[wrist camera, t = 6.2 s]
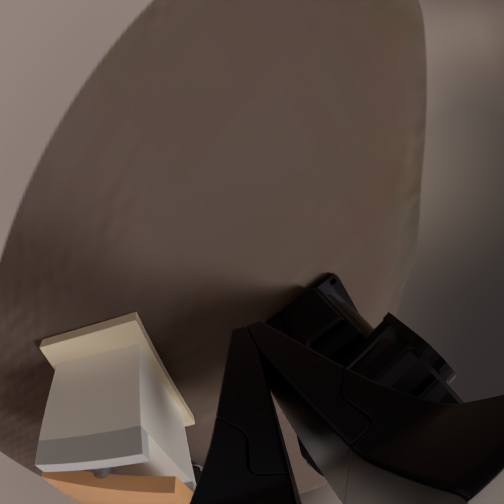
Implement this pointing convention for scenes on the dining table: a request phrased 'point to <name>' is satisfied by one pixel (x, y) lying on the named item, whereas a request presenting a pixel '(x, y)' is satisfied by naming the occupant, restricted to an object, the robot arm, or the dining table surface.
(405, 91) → the dining table surface
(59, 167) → the dining table surface
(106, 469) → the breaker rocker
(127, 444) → the box
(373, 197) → the dining table surface
